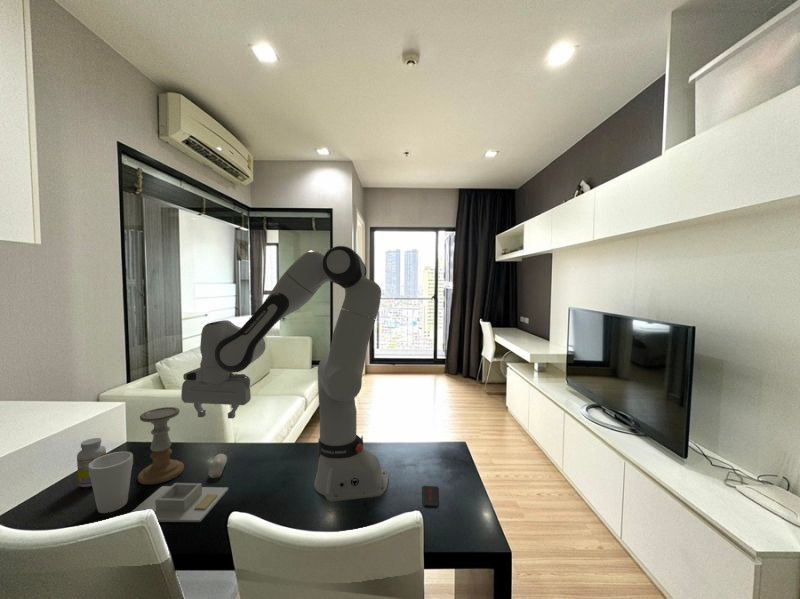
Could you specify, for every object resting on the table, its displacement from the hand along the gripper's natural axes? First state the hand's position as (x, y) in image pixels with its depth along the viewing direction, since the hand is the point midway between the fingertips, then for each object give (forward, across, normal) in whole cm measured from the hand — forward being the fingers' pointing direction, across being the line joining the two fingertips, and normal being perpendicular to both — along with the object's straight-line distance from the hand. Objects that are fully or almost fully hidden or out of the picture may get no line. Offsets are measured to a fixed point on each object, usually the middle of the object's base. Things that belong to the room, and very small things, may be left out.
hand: (216, 417), depth 106 cm
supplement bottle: (+21, +38, +2) cm, 43 cm away
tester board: (+20, +3, +12) cm, 24 cm away
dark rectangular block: (+20, -66, +8) cm, 70 cm away
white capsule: (+18, +1, -2) cm, 19 cm away
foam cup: (+21, +22, +13) cm, 33 cm away
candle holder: (+21, +20, -3) cm, 29 cm away
